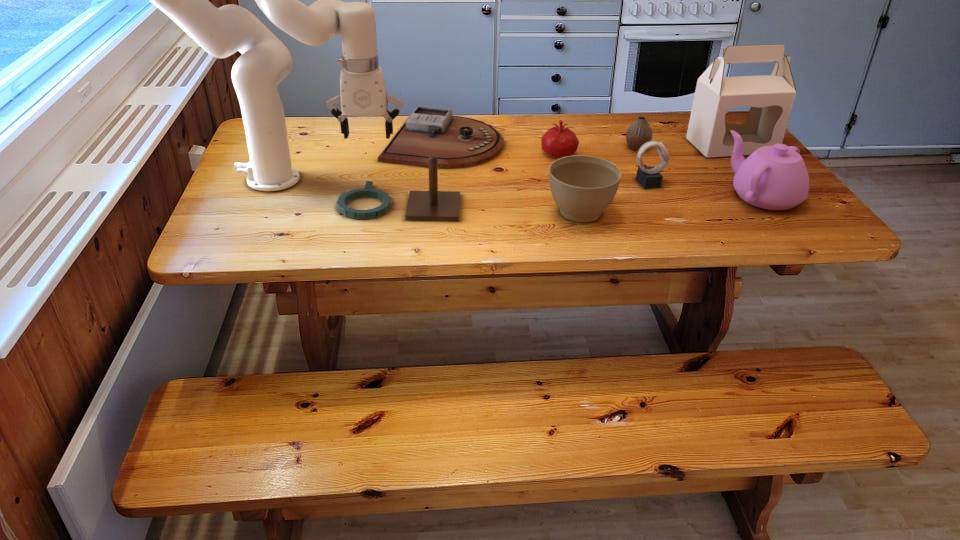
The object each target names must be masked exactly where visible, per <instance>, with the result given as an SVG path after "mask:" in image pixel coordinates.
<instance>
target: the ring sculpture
mask: <svg viewBox="0 0 960 540" xmlns="http://www.w3.org/2000/svg"><path fill="white" fill-rule="evenodd" d="M652 147H655V150H656V153H657V154H658V155H659V157H660V159H661V161H660V162H659V163H658V164H657V165H656V166H645V165H644V160H643V155H644V153H645V152H646V151H647V150H649V149H650V148H652ZM669 160H671V156H670V153H669V150H668V149H667V148H666V146H665V145H664V143H663V142H661V141H659V142H658V141H657V140H651V141H650V142H647V143H645V144H643V145H642V146H641V147H640V149H639V150H638V151H637V153H636V163H637V165H638V167H637V170H636V175H635V180H636V181H637V183H639V185H640V186H641V187H642V188H643V189H644V190H649V189H650V190H651V189H660V188H661V187H662V184H663V179H664V176H663V175H662V174H661V172H662V171H663V170H664V169H665V168H666V167H667V166H668V165H669Z"/></svg>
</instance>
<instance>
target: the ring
mask: <svg viewBox="0 0 960 540" xmlns="http://www.w3.org/2000/svg"><path fill="white" fill-rule="evenodd" d="M363 197H364V198H374V199H378V200H380V201H382V203H381V204H380V205H378V206H376V207H373V208H368V209H358V208H357V209H356V208H352V207H349V206H348V205H347V204H348V203H349V202H350V201H352V200H355V199H358V198H363ZM336 204H337V205H336V206H337V210H338V212H339V213H340V214H341V215H342V216H344V217H346V218H349V219H354V220H371V219H375V218H379V217H381V216H382V217H383V216H384V215H386V214H387V213H388V212H390V210H391V209H392V197H391V195H390V194H389V193H388V192H386V191H385V190H382V189H380V188H375V187H374V181H373V180H366V181H365V185H364V187H359V188H353V189H350V190H347V191H345V192H343V193H342V194H341V195H339V196H338V198H337V201H336Z"/></svg>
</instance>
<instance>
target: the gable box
mask: <svg viewBox="0 0 960 540" xmlns="http://www.w3.org/2000/svg"><path fill="white" fill-rule="evenodd" d="M791 57H792V56H791V55H786V54H785V45H784V44H783V43H763V44H740V45H739V44H737V45H735V44H734V45H728V46H726V47H725V48H722V56H718V57H716V58H715V57H714V59H713V61H712V63H711V64H710V65H709V66H708V67H707V68H706V69H705V70H704V71H703V72H702V74H701V75H699V77H698V78H697V81H696V86H695V90H694V95H693V100H692V105H691V111H690V116H689V121H688V125H687V131H686V135H685V139H686V140H687V141H688V142H689V143H690V144H691V145H692V146H694V148H696V149H697V150H698V151H699V152H700V153H701V154H702V155H703V156H704V157H705V158H707V159H709V158H711V159H712V158H724V157H725V158H726V157H732V153H733V149H734V137H733V135H732V133H731V132H730V130H734V131H735V132H737V133H738V134H739V135H740V136H741V137H742V140H743V156H750V155H751V154H752V153H753V152H754V151H756V150H757V149H758V148H760V147H763V146H774V144H783V142H784V138H785V135H786V131H787V128H788V124H789V121H790V117H791V114H792V110H793V107H794V104H795V99H796V95H797V87H796V83H795V80H794V77H793V73H792V68H791V65H790V63H791ZM750 63H775V65H774V67H773V69H772V72H771V74H765V75H764V74H763V75H760V74H759V75H739V76H738V75H737V76H724V73H725V68H726V67H725V66H726V65H730V64H750ZM737 107H750V108H749V110H748V116H747V119H746V122H745V123H742V124H736V123H733V122H726V114H727V112H728V111H729V110H730V109H731V110H732V109H733V108H737Z"/></svg>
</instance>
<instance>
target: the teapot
mask: <svg viewBox="0 0 960 540" xmlns="http://www.w3.org/2000/svg"><path fill="white" fill-rule="evenodd" d="M730 132H731V133H732V135H733V137H734V149H733V153H732V156H730V157H731V158H730V167H731V171H732V172H733V174H734V176H733V180H732V185H733V188H734V190H735V192H736V194H737V195H738V196H739V198H740V199H741V200H743V201H744V202H746V203H747V204H750V205H751V206H754V207H757V208H760V209H765V210H770V211H785V210H786V211H787V210H790V209H794V208H795V207H796V206H798V205H800V204H802V203H803V202H804V201H806V199H807V198H808V196H809V191H810V177H809V171H808V169H807V166H806V163H805V160H804V159H803V156H802V155H801V154H800V153H801V151H800V149H799V147H797V146H795V145H790V146H789V145H787V144H785V143H782V144H774V146H763V147H760V148H758V149H757V150H756V151H754V152H753V153H752V154H751V155H748V157H747V158H745V155H743V140H742V137H741V136H740V135H739V134H738V133H737V132H735V131H734V130H730Z"/></svg>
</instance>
